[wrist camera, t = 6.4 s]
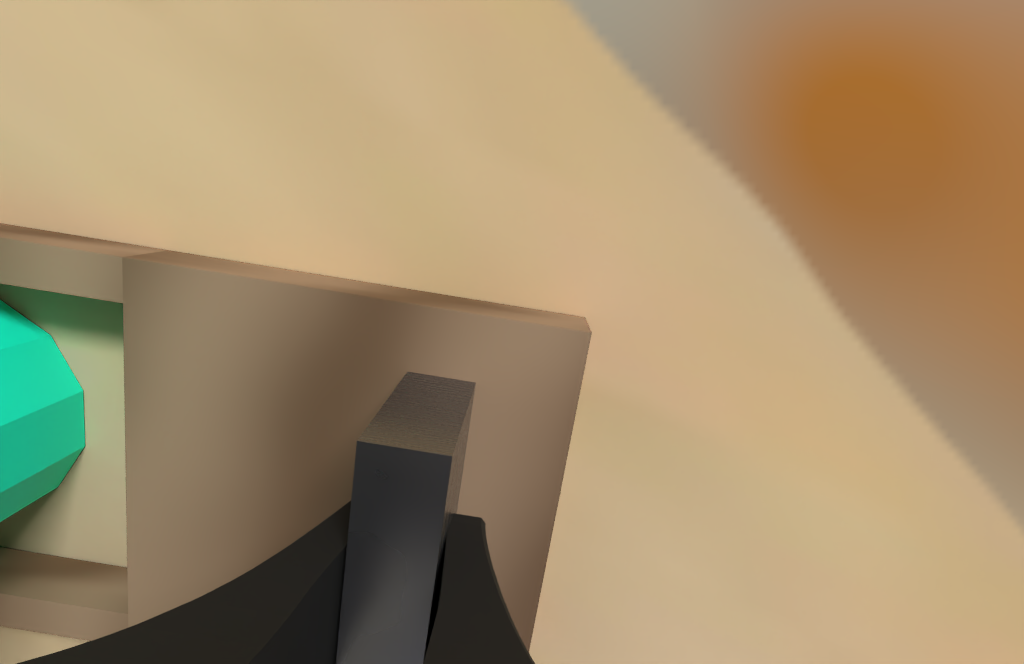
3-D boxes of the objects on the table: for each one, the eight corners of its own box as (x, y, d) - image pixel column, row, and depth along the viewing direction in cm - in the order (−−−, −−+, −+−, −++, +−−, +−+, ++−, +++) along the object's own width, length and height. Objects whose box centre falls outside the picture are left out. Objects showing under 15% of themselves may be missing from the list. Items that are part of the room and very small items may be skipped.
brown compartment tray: (585, 317, 13) (615, 389, 8) (518, 662, 15) (511, 875, 11) (-247, 183, 13) (-709, 175, 8) (-184, 547, 15) (-513, 708, 11)
